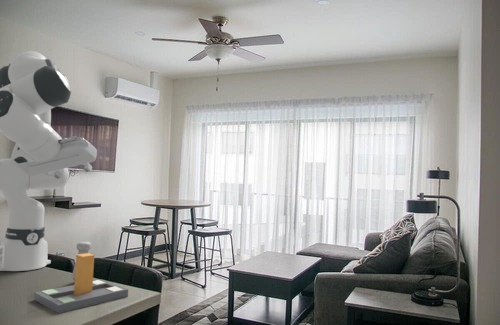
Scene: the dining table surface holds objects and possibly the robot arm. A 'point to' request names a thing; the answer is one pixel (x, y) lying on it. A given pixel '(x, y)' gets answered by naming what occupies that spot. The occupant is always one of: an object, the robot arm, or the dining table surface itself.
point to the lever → (84, 273)
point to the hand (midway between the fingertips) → (74, 173)
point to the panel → (79, 296)
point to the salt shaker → (82, 252)
